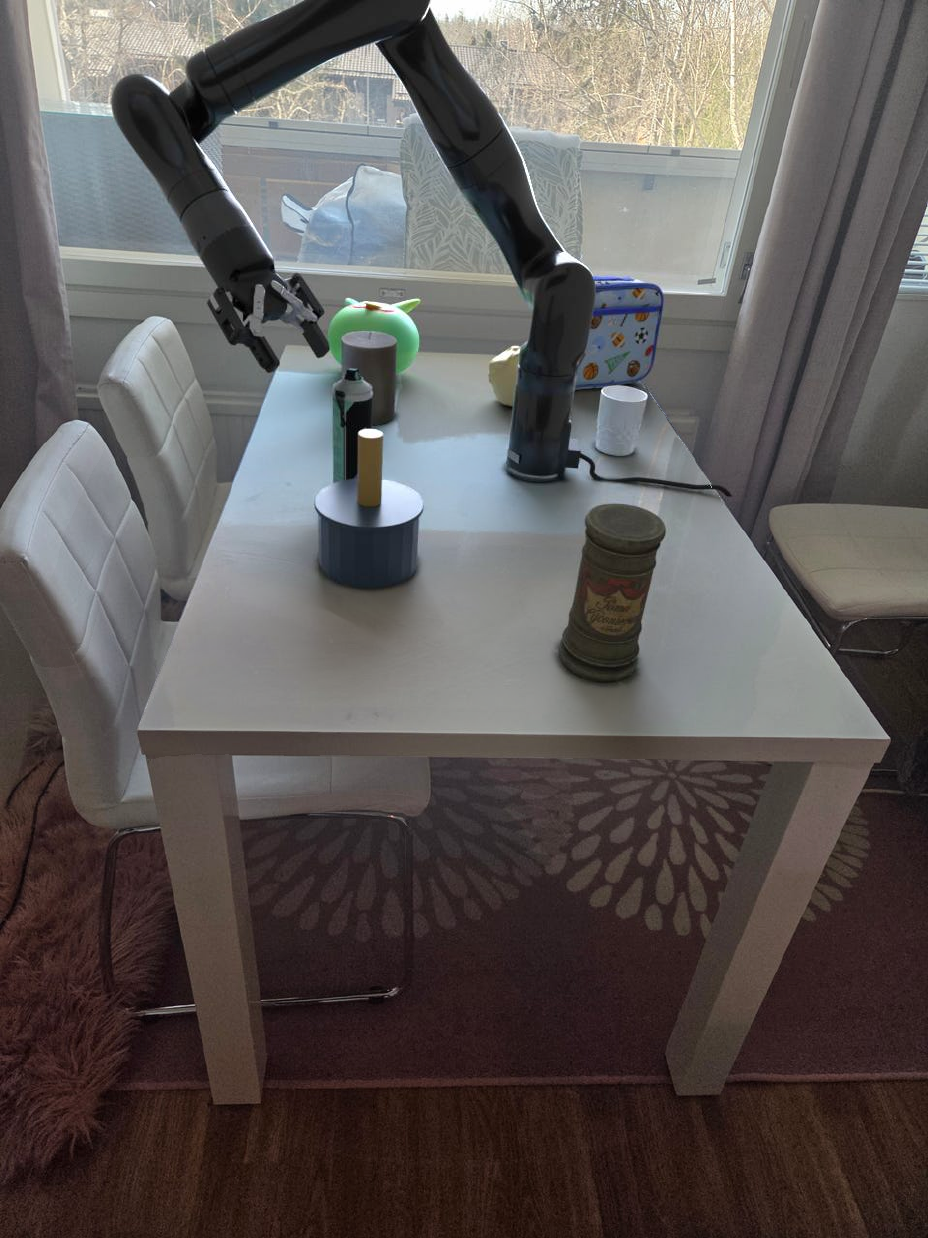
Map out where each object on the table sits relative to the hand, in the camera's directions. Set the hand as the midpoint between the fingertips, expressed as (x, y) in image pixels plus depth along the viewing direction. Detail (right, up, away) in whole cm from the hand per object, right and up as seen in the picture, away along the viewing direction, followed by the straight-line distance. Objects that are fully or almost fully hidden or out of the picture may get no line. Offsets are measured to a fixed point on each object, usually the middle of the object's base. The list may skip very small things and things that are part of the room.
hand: (300, 361), depth 104 cm
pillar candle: (+3, +6, +51) cm, 52 cm away
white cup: (+46, -1, +47) cm, 66 cm away
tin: (+7, -24, +8) cm, 26 cm away
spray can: (+3, -14, +22) cm, 27 cm away
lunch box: (+45, +18, +75) cm, 90 cm away
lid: (+8, -17, +4) cm, 19 cm away
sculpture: (+30, +10, +62) cm, 70 cm away
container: (+35, -36, -5) cm, 51 cm away
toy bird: (+2, +19, +70) cm, 73 cm away
